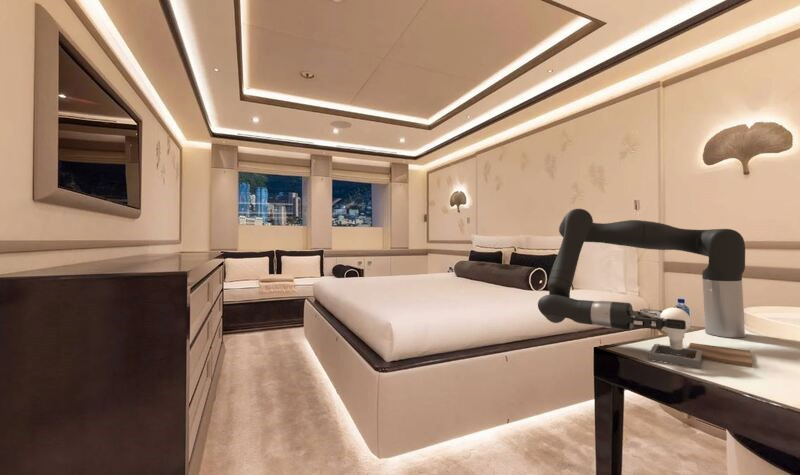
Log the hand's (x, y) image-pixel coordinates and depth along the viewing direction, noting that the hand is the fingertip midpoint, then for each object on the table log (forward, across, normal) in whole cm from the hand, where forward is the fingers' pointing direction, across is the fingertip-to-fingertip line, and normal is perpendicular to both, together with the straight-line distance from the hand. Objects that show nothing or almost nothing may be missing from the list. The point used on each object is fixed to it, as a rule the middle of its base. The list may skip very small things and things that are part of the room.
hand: (686, 322), depth 88 cm
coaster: (+5, +9, +10) cm, 14 cm away
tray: (-3, 0, +10) cm, 10 cm away
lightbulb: (-2, 0, +8) cm, 8 cm away
